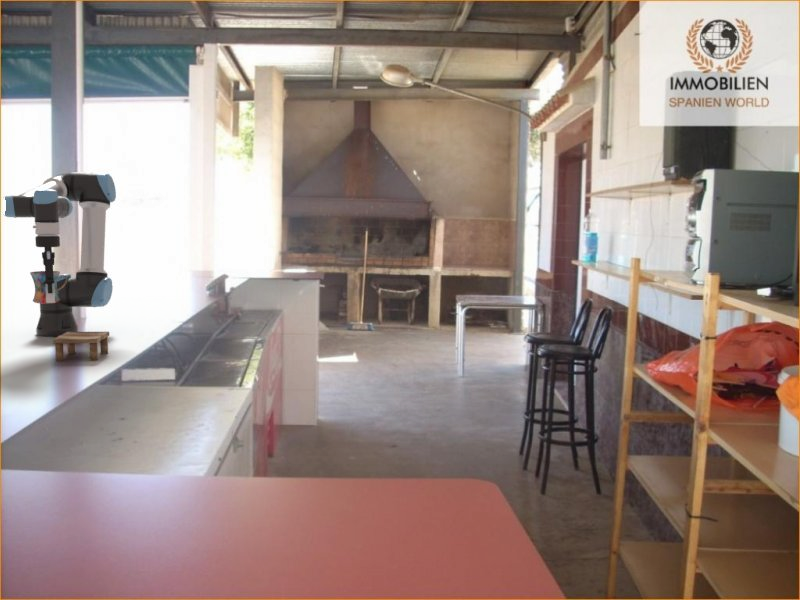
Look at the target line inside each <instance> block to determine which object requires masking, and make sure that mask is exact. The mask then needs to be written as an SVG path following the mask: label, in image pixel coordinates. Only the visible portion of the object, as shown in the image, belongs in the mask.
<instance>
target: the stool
mask: <svg viewBox="0 0 800 600" xmlns="http://www.w3.org/2000/svg"><path fill="white" fill-rule="evenodd" d="M109 336H110V331H78V332H66V333H64V334H62V335H60V336H55V337H54V338H52V344H54V346H55V361H56V362H63V361H65V357H64V355H65V354H64V353H65V352H64V344H67V347H66V348H67V355H75V354H76V344H89V360H90V361H91V362H94V361H99V352H98V351H99V350H100V354H101V355H108V354H109V344H108V343H109V341H108V338H109ZM99 343H100V344H99ZM98 344H99V347H100V349H98Z"/></svg>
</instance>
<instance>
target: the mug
mask: <svg viewBox="0 0 800 600" xmlns="http://www.w3.org/2000/svg"><path fill="white" fill-rule="evenodd" d="M60 273H61V272H60V271H58V270H53V276H54V291H55V302H58V301H59V300H60V299H59V297H58V294H59V292H58V291H59V290H60V289H62V288H63V287H64V286H65V284H66V283H67V277H66V276H65V275H60ZM29 274H30V276H31V278H32V281H33V285H34V296H33V299H32V302H33V303H36V304H39V305H40V304H49V303H46V287H45V284H43V282H45V280H46V276H45V270H39V271H30V272H29ZM59 275H60V276H59ZM61 276H64V277H65V278H66V281H65V283H64V285H63V286H62V287H61V288H59V289H58V290H57V281H58V278H59V277H61ZM57 293H58V294H57Z"/></svg>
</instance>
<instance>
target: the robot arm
mask: <svg viewBox="0 0 800 600" xmlns="http://www.w3.org/2000/svg"><path fill="white" fill-rule="evenodd" d="M116 191H117V190H116V186H115V182H114V179H113V177H112V175H110V173H107V172H99V171H95V172H94V171H87V172H86V171H85V172H83V171H82V172H81V171H80V172H79V171H76V172H75V171H71V172H70V171H68V172H64V173H61V174H57V175H54V176H52V177H49V178H47V179H46V180H44V182H43V183H42V184H41V185H38V186H36V187H34V188H32V189H30V190H27V191H25V192H24V193H21V194H18V195H5V196H4V197H5V200H6V211H5V215H4V217H7V218H15V219H17V218H34V225H33V226H32V228H33V229H35V230H34V232H35V235H37V236H35V247H36V248H44V251H43V252H41V258H42V264H43V266H44V271H45V276H46V280H45V282H43V284H45V287H46V303H49V304H40V303H39V312H40V314H39V319H38V322H37V325H36V329H35V330H36V335H37V336H41V337H58V336H60V335H62V334H64V333H66V332H79V325H78V323H77V321H76V318H75V315H74V313H73V308H97V307H98V308H99V307H106V305H108V304H109V303H110V300H111V298H112V295H113V288H114V287H113V279H112V278H110V277H109V275H108V273H107V271H106V270H105V269H104V266H105V247H106V245H105V241H106V221H107V220H106V218H107V217H106V216H107V210H108V209H110V208H111V203H114V202H115V201H116V197H117V192H116ZM72 202H78V205H79V207H81V208H82V218H81V219H82V220H81V221H82V223H81V245H80V247H81V248H80V250H81V251H80V268H79V269H78V270H77V271H76V272H75V276H74V277H72V275H71V273H61V274H59V276H60V275H65V276H66V277H67V283H66V284H65V286H64V287H63V288H62V289H60V290H59V291H58V292H59V294H58V293H57V294H58V297H59V299H60V300H59V301H58V302H55V291H54V276H53V271H54V265H55V257H56V256H55V255H56V253H55V251H53V248H59V247H60V246H61V238H60V236H59V235H60V232H61V231H60V220H59V219H64V218H67V217H69V216H70V215H71V214H72V212H73V208H74V207H73V203H72ZM65 281H66V278H65V277H64V276H61V277H59V278H58V281H57V290H58V289H59V288H61V287H62V286H63V285H64V283H65Z"/></svg>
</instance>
